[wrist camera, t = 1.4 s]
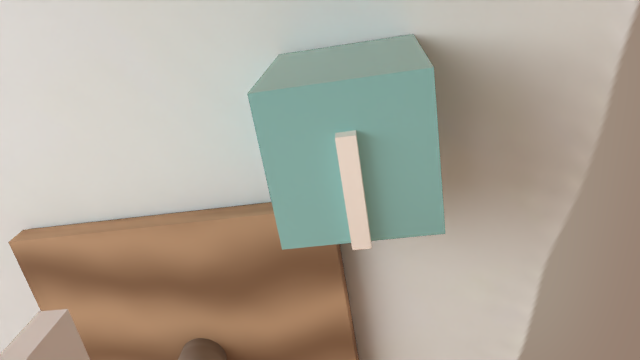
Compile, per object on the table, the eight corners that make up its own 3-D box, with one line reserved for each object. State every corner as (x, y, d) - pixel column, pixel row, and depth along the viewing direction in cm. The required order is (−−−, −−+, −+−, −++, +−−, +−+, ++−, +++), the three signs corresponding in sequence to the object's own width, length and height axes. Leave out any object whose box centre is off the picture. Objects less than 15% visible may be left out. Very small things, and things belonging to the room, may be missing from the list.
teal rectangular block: (278, 54, 26) (244, 97, 19) (413, 34, 26) (436, 70, 18) (301, 175, 29) (279, 257, 21) (423, 161, 28) (447, 241, 20)
